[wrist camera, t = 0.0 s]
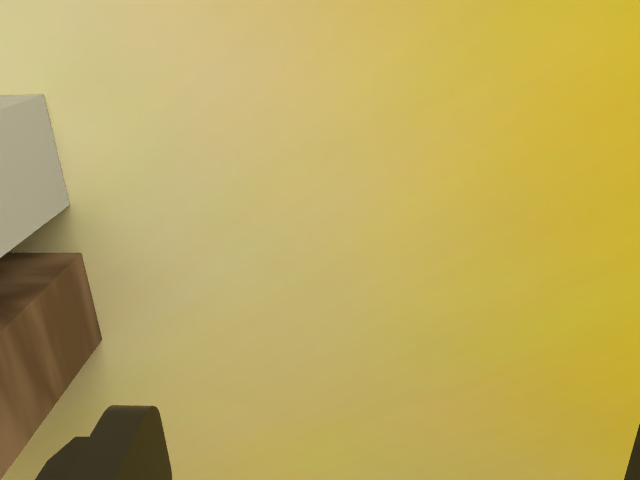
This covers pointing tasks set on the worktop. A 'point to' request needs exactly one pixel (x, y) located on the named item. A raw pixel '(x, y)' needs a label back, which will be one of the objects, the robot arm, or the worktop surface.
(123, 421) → the robot arm
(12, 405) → the walnut stand
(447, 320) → the worktop surface
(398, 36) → the worktop surface
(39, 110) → the grey stand
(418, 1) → the worktop surface
